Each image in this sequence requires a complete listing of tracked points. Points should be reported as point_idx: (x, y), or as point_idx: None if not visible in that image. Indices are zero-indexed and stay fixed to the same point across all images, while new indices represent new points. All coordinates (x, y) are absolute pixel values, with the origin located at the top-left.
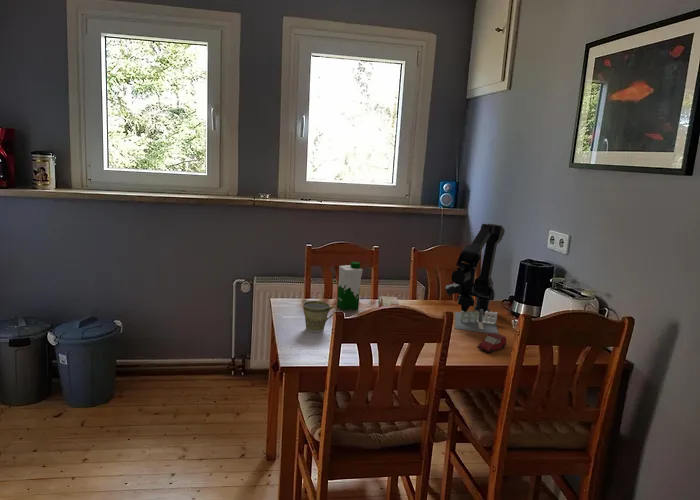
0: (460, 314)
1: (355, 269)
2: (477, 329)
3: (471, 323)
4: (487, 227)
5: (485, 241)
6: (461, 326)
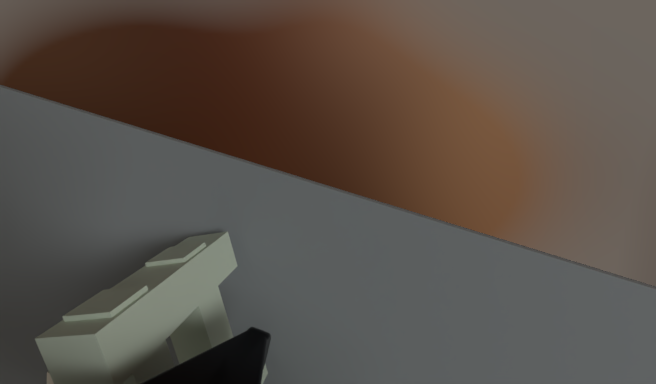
0: (160, 281)
1: None
2: (17, 343)
3: None
4: None
5: None
6: (44, 185)
